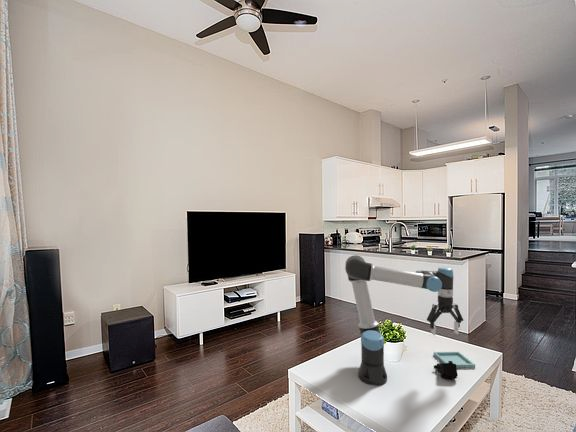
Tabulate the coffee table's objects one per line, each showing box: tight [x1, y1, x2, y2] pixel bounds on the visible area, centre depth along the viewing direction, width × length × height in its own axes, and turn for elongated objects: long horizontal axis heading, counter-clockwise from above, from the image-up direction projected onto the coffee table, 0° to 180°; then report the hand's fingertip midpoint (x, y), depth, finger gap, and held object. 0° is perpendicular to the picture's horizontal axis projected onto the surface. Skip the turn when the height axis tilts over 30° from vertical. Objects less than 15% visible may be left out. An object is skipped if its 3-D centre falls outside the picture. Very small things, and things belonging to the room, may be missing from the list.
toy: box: [433, 361, 458, 379], centre depth 167 cm, size 9×8×15 cm
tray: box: [433, 351, 476, 369], centre depth 180 cm, size 16×16×2 cm
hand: (444, 333), depth 167 cm, fingers open, 13 cm apart
